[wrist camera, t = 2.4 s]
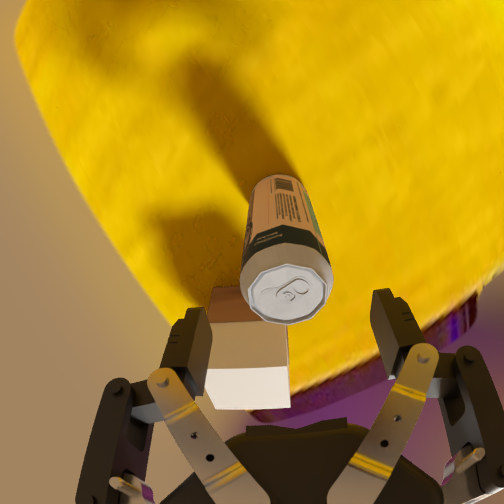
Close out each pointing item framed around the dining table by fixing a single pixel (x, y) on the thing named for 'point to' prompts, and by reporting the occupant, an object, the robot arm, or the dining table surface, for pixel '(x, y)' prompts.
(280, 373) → the tower top
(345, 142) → the dining table surface
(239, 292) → the tower base
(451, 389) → the robot arm
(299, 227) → the beer can
